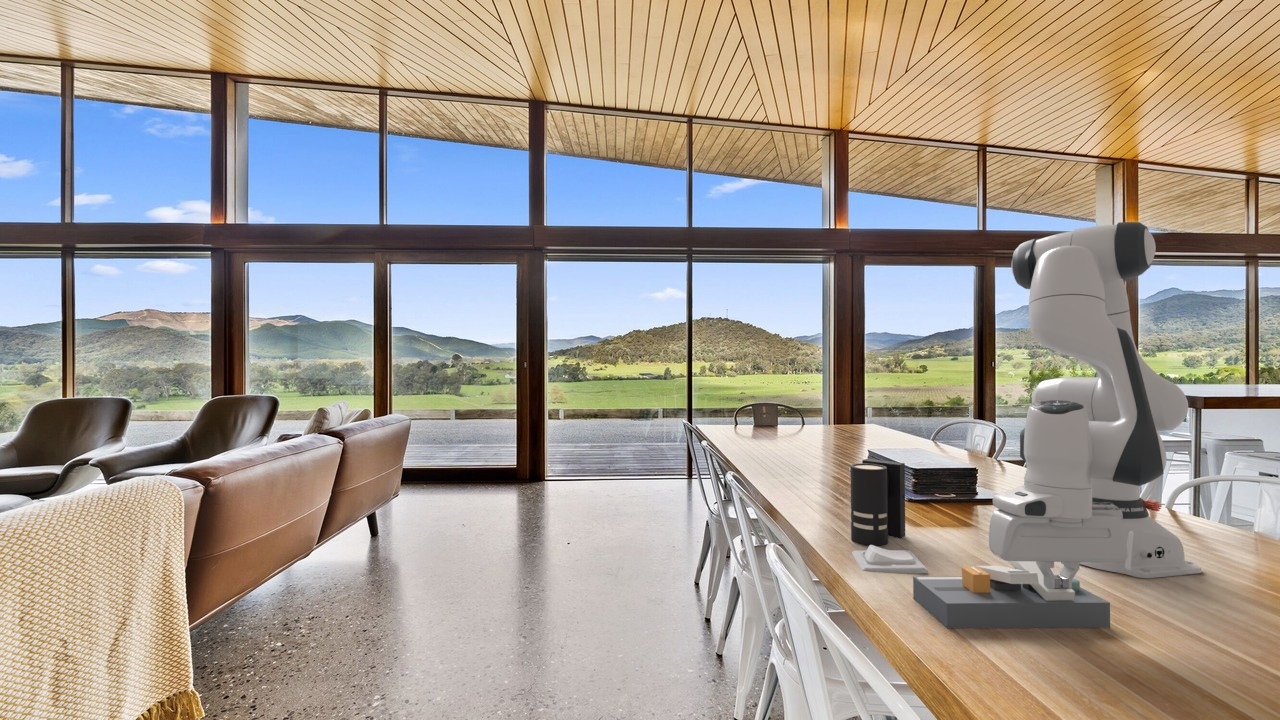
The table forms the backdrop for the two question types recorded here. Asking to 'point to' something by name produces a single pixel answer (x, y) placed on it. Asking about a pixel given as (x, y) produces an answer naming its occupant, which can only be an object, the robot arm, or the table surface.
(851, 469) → the light fixture
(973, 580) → the slider knob
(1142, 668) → the table surface
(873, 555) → the light switch
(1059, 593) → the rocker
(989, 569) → the panel
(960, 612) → the panel
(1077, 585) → the button
